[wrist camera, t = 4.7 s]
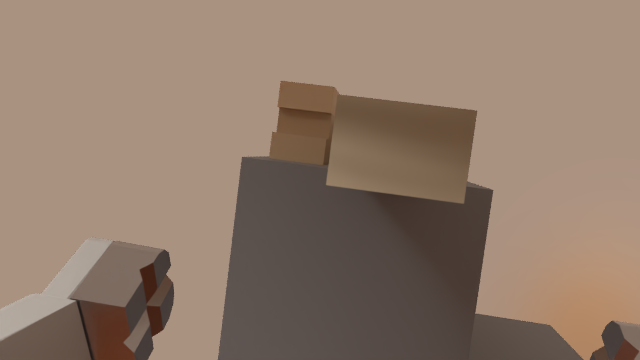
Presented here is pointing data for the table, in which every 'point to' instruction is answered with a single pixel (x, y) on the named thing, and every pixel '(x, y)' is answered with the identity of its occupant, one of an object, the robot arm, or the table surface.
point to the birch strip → (401, 148)
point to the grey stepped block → (357, 262)
